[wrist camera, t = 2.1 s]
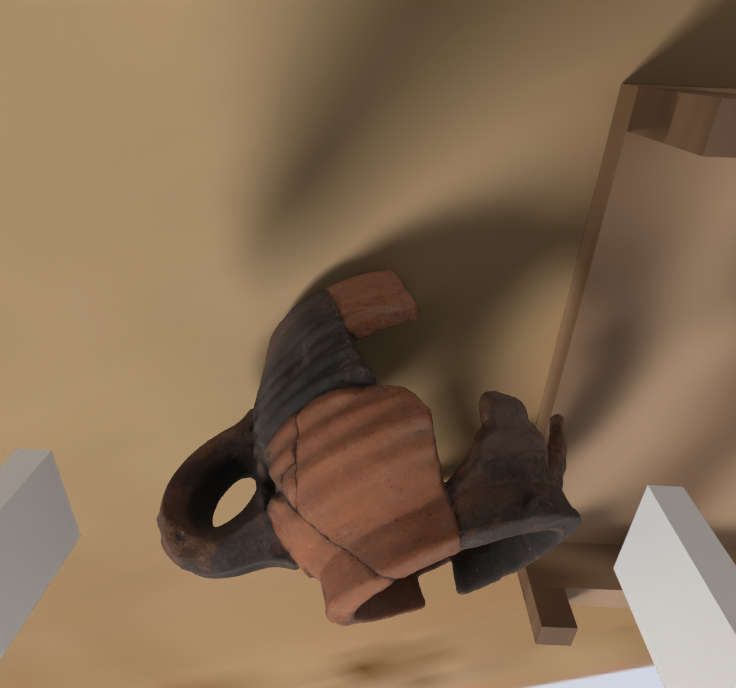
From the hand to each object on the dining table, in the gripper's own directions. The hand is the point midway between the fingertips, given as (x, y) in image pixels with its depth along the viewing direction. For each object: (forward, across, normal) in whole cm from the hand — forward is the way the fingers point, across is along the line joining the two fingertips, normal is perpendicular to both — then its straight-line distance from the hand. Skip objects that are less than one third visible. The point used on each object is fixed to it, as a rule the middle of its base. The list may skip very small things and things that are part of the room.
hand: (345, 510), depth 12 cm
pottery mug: (+8, -1, -1) cm, 8 cm away
